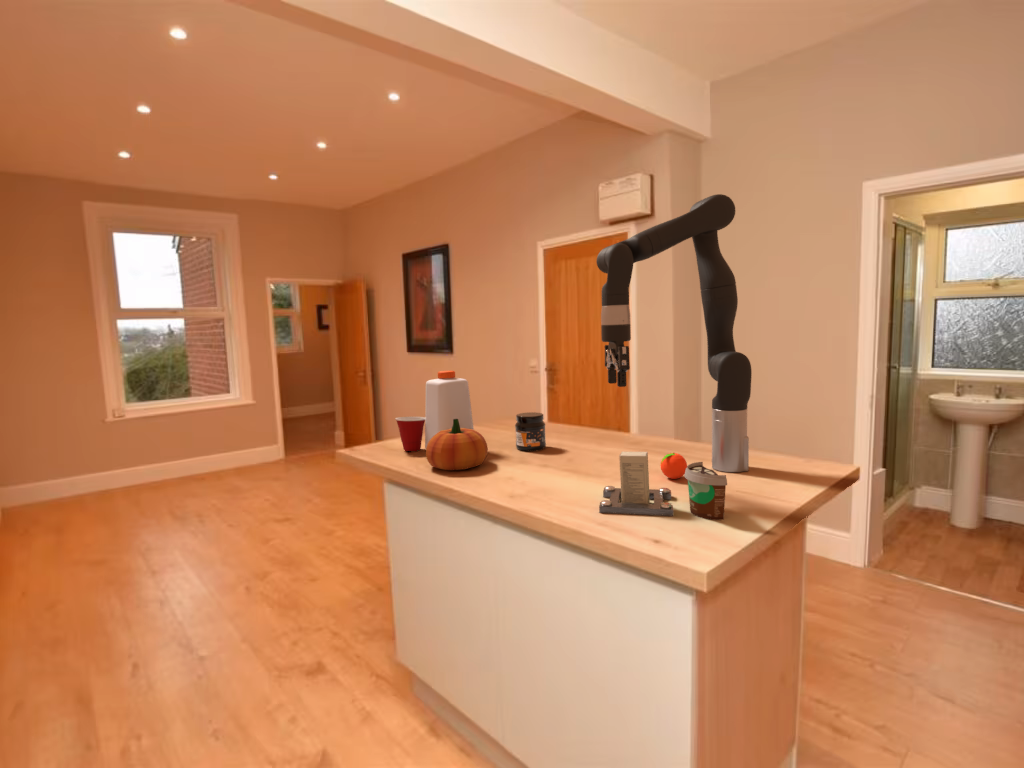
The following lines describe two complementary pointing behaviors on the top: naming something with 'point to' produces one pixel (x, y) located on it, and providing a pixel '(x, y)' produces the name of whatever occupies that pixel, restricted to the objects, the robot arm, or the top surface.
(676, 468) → the clementine
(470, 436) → the pumpkin
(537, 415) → the supplement container
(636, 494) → the skincare box
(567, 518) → the top surface
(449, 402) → the plastic bottle
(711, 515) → the food container
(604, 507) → the grey rectangular frame
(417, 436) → the plastic cup
